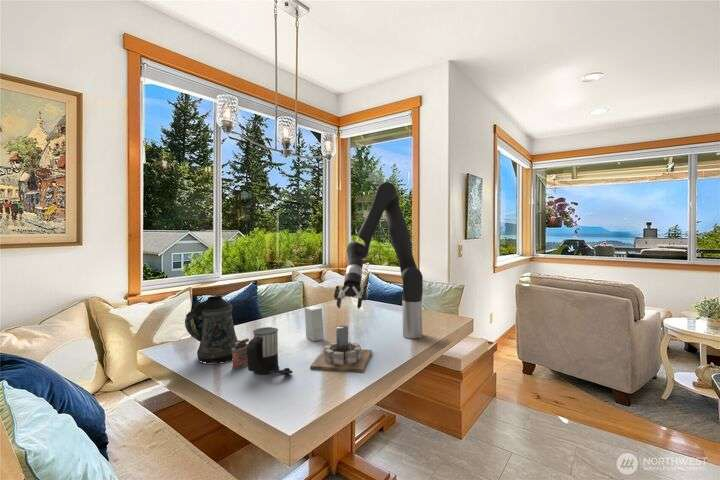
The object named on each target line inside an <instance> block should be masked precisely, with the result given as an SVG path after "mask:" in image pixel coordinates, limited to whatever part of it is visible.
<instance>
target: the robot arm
mask: <svg viewBox="0 0 720 480" xmlns="http://www.w3.org/2000/svg"><path fill="white" fill-rule="evenodd" d="M372 201H373V202H372V204H371V207H370V209H369V211H368V213H367V215H366V216H365V219H364V220H363V223H362V225H361V227H360V229H359V231H358V233H357V236H358V238H359V239H361V240H362V241H363V244H362V243H360V242H358V241H355V240H352V241H350V242H349V243H348V244H347V247H346V255H347V267H346V271H345V276H344V281H343V285H342V286H340V285H336V287H335V290H334V294H333V298H334V300H335V301H336V306H337V308H338V309H341V306H342V300H344V299H346V297H353V298H355V297H356V298H357V304H356V305H357V306H356V307H357V309H358V310H359V309H360V308H361V307H362V304H363V301H367V300H368V299H367V298H368V288H367V286H366V285H364V286H362V287H361V285H362V278H363V267H364V261H363V260H364V259H366V258H367V257H368V254H369V250H370V247H371V246H370V245H371V242H372V239H373V237H374V235H375V232H376V230H377V228H378V226H379V224H380V221H381V218H382V216H383V213H384V211H385V215H386V224H387V231H388V234H389V238H390V241H391V244H392V247H393V250H394V252H395V254H396V256H397V260H398V263H399V269H400V274H401V275H400V276H401V280H402V296H401V297H402V301H401V302H402V304H401V305H402V307H401V308H402V336H403V337H404V338H406V339H423V307H422V306H423V302H422V300H423V290H424V289H423V286H424V285H423V280H424V279H423V273H422V271H421V270H420V269H418V266H417V264H416V260H415V258H414V255H413V248H412V247H413V246H412V240H411V235H410V231H409V228H408V225H407V222H406V219H405V217H404V215H403V212H402V210H401V206H400V201H399V196H398V189H397V187H396V186H395V184H393V183H392V182H390V181H383V182H382V183H380V184H379V185H378V186H377V188H376V192H375V196H374V199H373V200H372ZM360 292H362V295H361V294H360Z"/></svg>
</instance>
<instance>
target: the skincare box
mask: <svg viewBox="0 0 720 480" xmlns="http://www.w3.org/2000/svg"><path fill="white" fill-rule="evenodd" d="M323 318H324V317H323V308H322V307H319V306H316V305H312V306H307V307H304V322H305V337H306V338H307V339H309V340H311V341H312V342H316V341H323V340H324V339H325V336H324V320H323Z"/></svg>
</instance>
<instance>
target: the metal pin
mask: <svg viewBox="0 0 720 480" xmlns="http://www.w3.org/2000/svg"><path fill="white" fill-rule="evenodd" d="M335 331H336V333H335V334H336V338H335V339H336V341H335V342H337V352H344V359H345V352H347V351H348V342H349V327H348V326H347V325H337V326H336V329H335Z"/></svg>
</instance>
